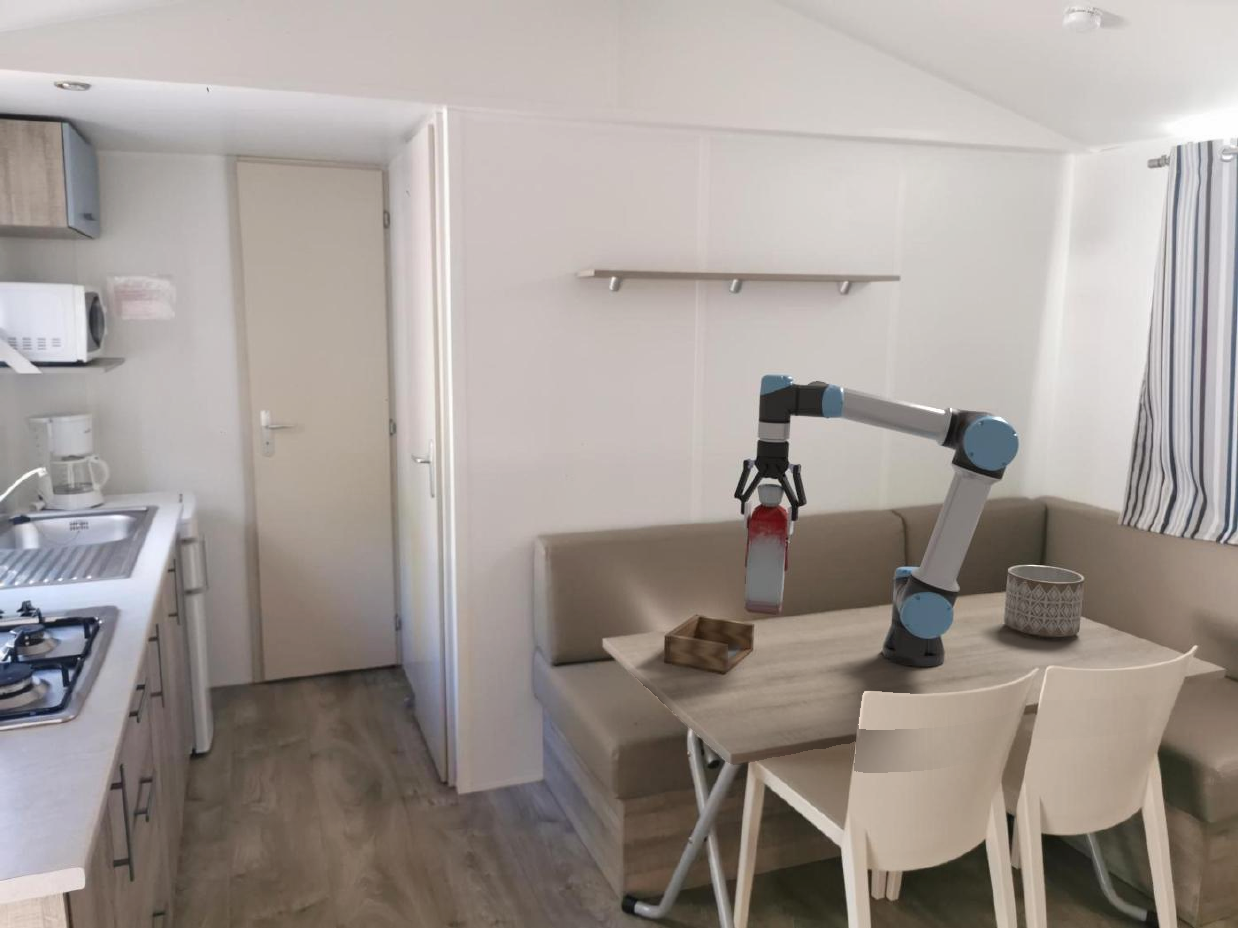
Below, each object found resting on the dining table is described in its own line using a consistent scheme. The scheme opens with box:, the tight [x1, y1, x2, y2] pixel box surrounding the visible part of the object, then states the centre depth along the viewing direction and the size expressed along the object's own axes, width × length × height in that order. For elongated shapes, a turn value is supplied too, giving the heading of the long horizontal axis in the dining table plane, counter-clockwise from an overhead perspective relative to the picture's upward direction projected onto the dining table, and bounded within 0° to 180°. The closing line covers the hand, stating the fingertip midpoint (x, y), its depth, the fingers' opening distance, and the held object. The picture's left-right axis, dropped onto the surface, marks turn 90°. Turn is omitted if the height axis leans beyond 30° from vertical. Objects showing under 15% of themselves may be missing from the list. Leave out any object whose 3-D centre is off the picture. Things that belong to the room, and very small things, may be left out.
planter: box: [1003, 564, 1085, 638], centre depth 273 cm, size 19×19×16 cm
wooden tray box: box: [663, 614, 755, 675], centre depth 248 cm, size 16×20×7 cm
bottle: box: [744, 483, 791, 616], centre depth 240 cm, size 14×10×30 cm
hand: (768, 530), depth 239 cm, fingers closed on bottle, 10 cm apart
